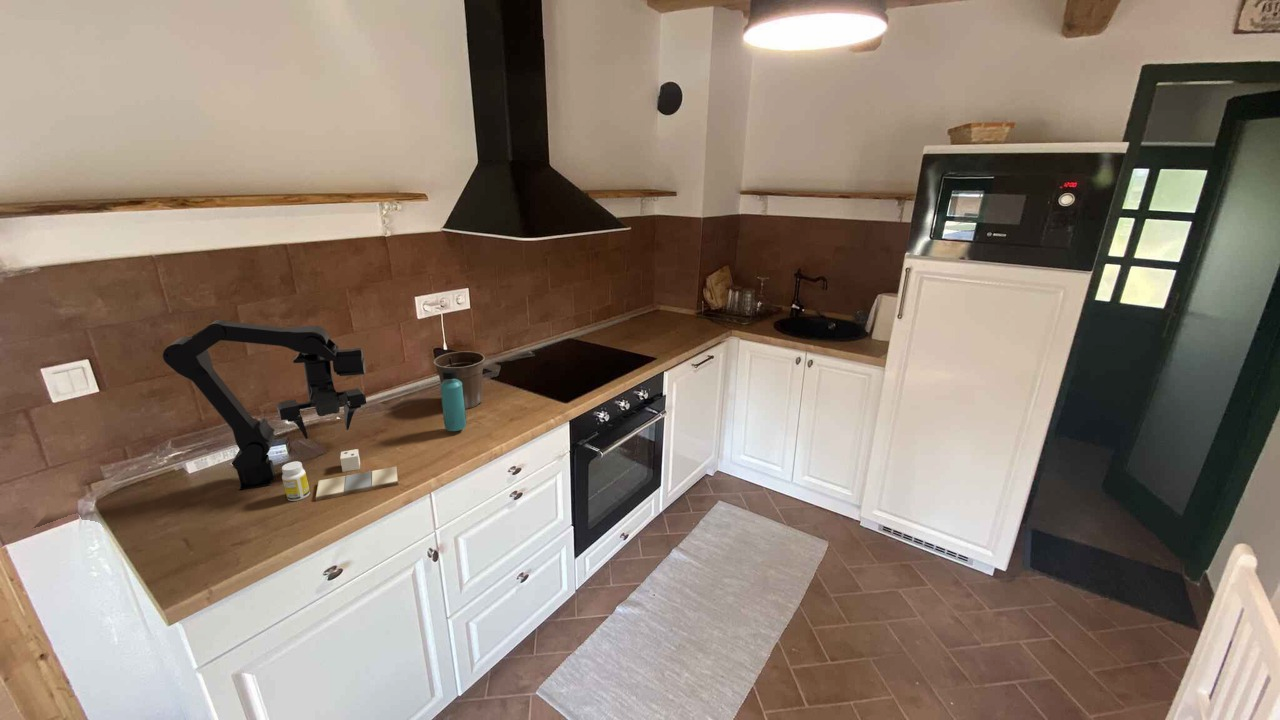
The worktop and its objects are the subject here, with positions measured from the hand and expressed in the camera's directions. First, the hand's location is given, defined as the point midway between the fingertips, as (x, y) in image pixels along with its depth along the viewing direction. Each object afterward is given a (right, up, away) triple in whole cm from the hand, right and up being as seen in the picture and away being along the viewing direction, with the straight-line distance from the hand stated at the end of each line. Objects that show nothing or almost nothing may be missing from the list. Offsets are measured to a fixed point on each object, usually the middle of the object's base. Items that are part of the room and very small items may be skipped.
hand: (327, 433), depth 135 cm
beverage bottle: (+24, -3, +26) cm, 35 cm away
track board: (+10, -12, -3) cm, 16 cm away
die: (+4, -10, +5) cm, 11 cm away
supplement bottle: (-2, -14, -8) cm, 16 cm away
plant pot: (+20, +4, +46) cm, 50 cm away
